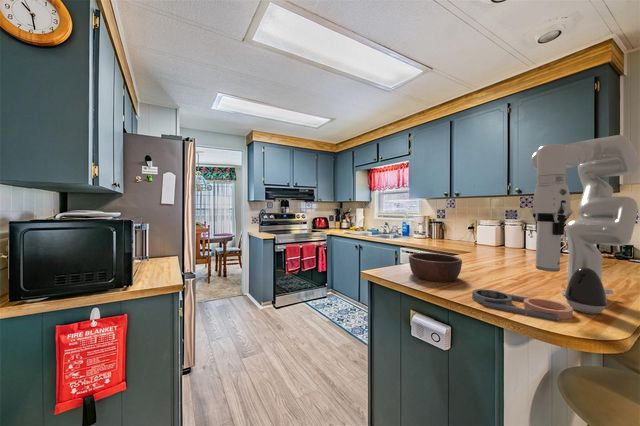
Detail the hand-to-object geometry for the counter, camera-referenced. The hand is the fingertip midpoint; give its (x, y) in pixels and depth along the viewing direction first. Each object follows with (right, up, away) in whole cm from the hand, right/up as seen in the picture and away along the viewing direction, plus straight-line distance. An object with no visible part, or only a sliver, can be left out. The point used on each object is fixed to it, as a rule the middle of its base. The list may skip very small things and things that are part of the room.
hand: (549, 233), depth 89 cm
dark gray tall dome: (+14, -28, +1) cm, 31 cm away
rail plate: (-8, -27, +7) cm, 29 cm away
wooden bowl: (-20, -26, +45) cm, 55 cm away
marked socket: (0, -27, +1) cm, 27 cm away
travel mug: (0, -13, 0) cm, 13 cm away
